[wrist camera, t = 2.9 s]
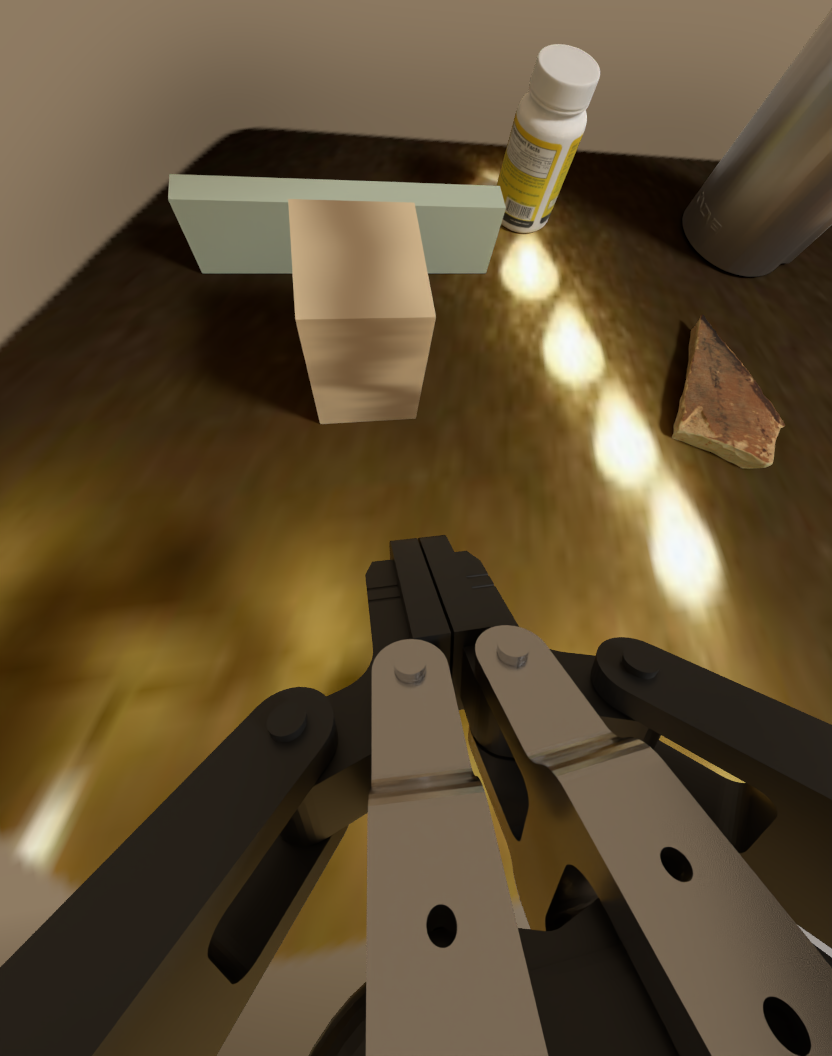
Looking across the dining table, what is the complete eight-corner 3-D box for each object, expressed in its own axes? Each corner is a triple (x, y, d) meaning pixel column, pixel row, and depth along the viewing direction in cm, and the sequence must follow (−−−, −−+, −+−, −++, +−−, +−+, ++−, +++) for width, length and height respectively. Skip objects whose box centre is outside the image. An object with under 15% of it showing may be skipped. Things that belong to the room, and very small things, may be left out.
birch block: (401, 330, 26) (414, 202, 18) (415, 418, 24) (435, 317, 17) (313, 332, 25) (288, 199, 18) (320, 424, 23) (295, 319, 16)
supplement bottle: (531, 189, 32) (585, 37, 24) (556, 230, 31) (621, 85, 23) (480, 197, 31) (519, 41, 23) (504, 239, 30) (554, 91, 22)
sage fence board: (480, 253, 29) (499, 185, 25) (485, 273, 28) (506, 208, 24) (202, 250, 26) (169, 174, 22) (202, 273, 25) (168, 199, 21)
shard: (686, 329, 30) (705, 310, 28) (775, 367, 30) (800, 351, 28) (660, 438, 26) (680, 425, 25) (760, 482, 26) (788, 471, 25)
